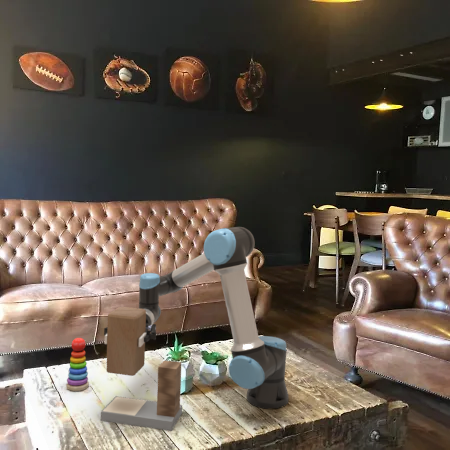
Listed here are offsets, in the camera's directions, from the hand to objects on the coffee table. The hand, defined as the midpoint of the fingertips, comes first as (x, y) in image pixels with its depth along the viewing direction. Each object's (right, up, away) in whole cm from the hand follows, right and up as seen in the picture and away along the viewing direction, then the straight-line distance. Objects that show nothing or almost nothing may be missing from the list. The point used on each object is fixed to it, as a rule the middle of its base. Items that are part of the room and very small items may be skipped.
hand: (122, 341), depth 161 cm
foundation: (+5, -26, +5) cm, 27 cm away
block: (0, -11, +5) cm, 12 cm away
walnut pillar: (+14, -24, +3) cm, 28 cm away
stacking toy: (-22, -23, +26) cm, 41 cm away
